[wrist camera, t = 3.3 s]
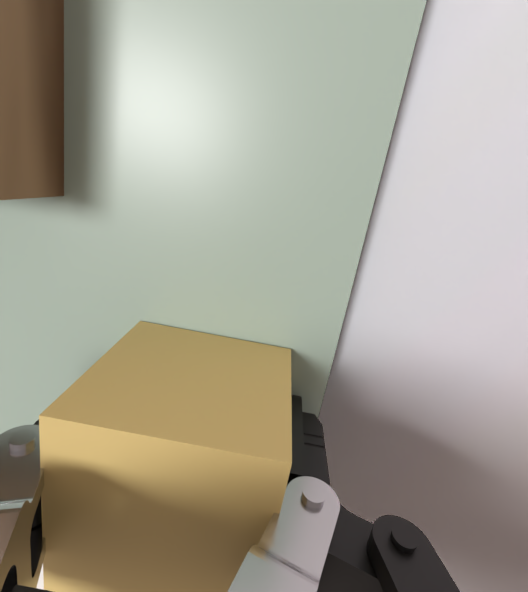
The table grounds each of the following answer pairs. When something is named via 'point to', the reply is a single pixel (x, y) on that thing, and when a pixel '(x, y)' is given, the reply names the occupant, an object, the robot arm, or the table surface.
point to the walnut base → (31, 99)
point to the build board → (203, 184)
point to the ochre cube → (164, 462)
